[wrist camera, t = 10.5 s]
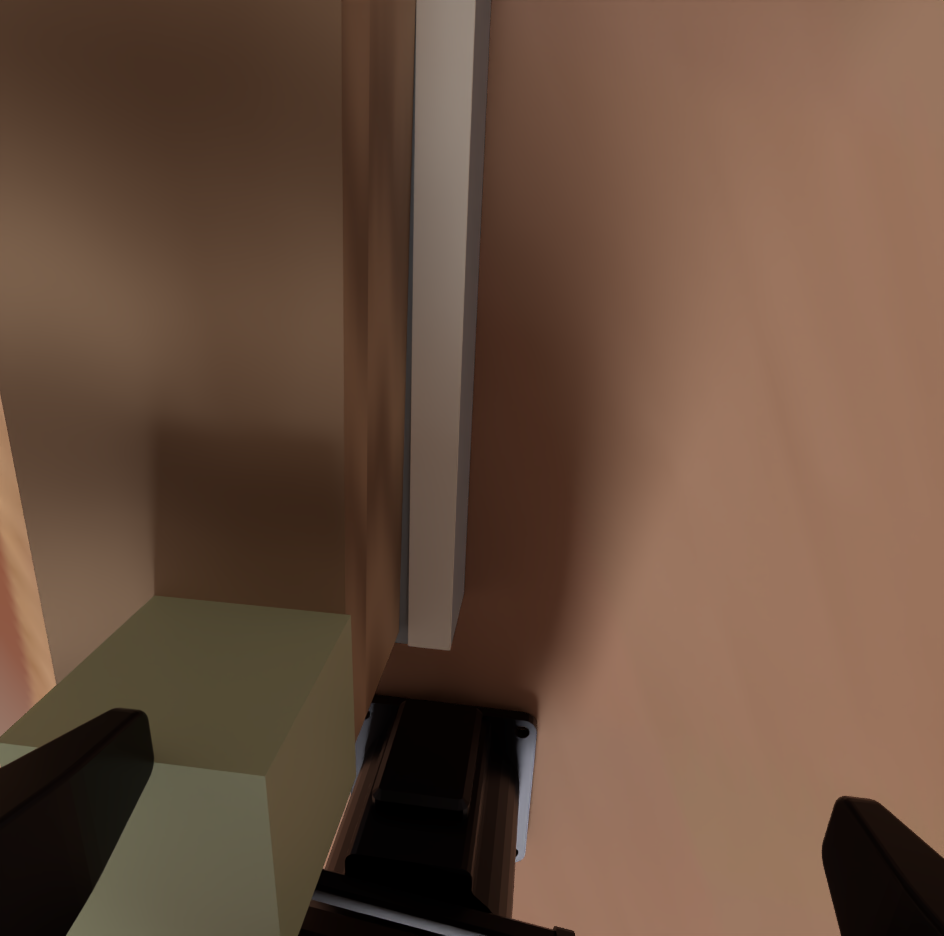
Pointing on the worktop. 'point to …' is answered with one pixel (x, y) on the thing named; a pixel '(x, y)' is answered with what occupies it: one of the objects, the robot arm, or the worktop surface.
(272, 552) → the pallet
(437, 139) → the dock
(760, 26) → the worktop surface
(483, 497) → the worktop surface
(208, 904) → the block
